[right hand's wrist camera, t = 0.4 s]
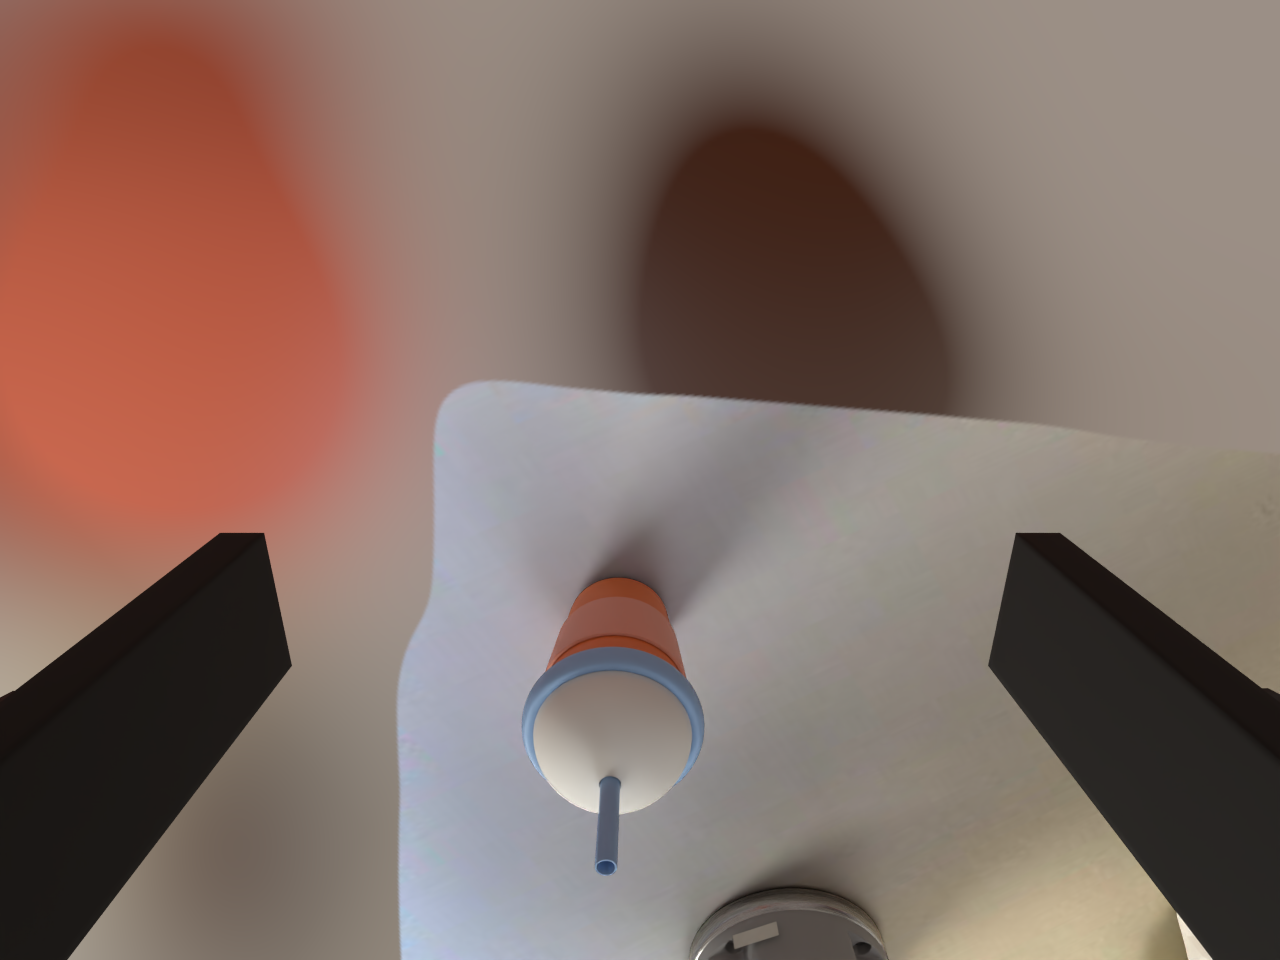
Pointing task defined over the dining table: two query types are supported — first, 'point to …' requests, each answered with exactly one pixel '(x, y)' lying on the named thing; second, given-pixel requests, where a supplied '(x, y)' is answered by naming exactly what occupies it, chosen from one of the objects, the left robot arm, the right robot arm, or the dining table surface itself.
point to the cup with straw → (613, 709)
